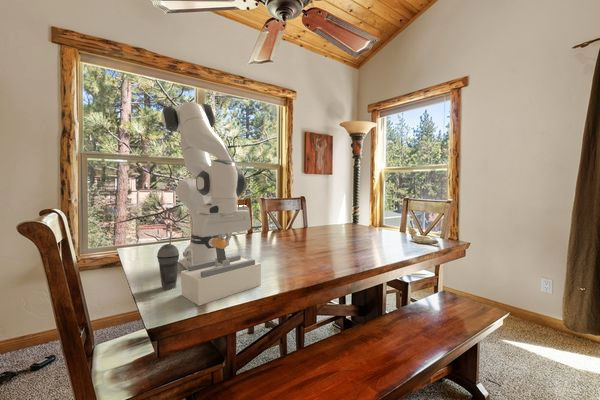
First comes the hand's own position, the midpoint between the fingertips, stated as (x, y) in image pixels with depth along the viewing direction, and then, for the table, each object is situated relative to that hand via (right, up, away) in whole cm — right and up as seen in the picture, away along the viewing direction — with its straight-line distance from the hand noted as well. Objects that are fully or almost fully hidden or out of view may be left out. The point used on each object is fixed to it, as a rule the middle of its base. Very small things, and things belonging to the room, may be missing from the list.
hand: (225, 246), depth 99 cm
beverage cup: (-21, -15, +3) cm, 26 cm away
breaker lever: (-1, -6, 0) cm, 6 cm away
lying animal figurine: (+102, -11, +78) cm, 129 cm away
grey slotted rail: (-1, -7, 0) cm, 7 cm away
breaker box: (-1, -15, 0) cm, 15 cm away
